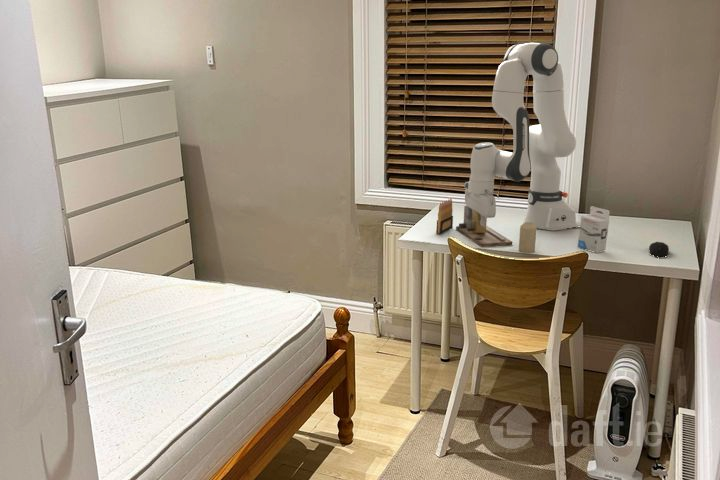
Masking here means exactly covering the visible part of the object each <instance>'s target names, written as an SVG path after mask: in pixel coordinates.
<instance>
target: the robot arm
mask: <svg viewBox="0 0 720 480" xmlns="http://www.w3.org/2000/svg"><path fill="white" fill-rule="evenodd" d="M502 61H503V62H502V63H501V64H500V65H498V68H497V71H496V74H495V78H494V83H493V89H492V97H491V106H492V108H493V111H495V113H496V114H497V115H498V116H499V117H501V118H502V119H504V120H506V122H507V123H509V124H510V125H511V128H512V131H513V146H512V147H513V149H512V150H513V152H510V151H506V150H502V149H499V148H497V147H496V146H495V144H494V143H492V142H488V141H487V142H485V141H484V142H479V143H477V144H474V146H473V148H472V151H471V155H470V177H469V181H465V182H464V190H465V191H464V203H465V206H467V207H469V208H471V209H472V213H473V210H474V211H476V212H478V213H479V214H481V220H480V221H479V225H481V226H485V221H486V219H488V218H489V219H490V218H491V219H493V218H495V217H496V213H497V211H496V210H497V202H496V198H495V196H494V194H493V193H494V185H495V177H498V178H504V179H507V180H511V181H513V182H518V183H519V182H521V181H523V180H524V179H526V178H527V177H528V175H529V174H530V173H531V174H530V187H529V189H528V196H527V198H528V199H527V203H528V205H527V208H526V214H525V216H524V220H523V223H522V224H524V223H525V222H528V223H529V222H531V223H534V225H535V226H536V227H537V229H538V230H539V229H540V230H547V231H560V230H562V231H563V230H568V229H567V228H569V229H573V228H572V227H576V228H579V227H578V226H580V223H581V221H578V220H577V217H576V211H575V209H574V208H573V207H572V206H571V205H569V204H568V203H567V202H566V201H565V200H564V199H563V198H567V197H568V192H567V191H562V190H560V187H561V185H560V184H561V176H562V175H561V174H562V173H561V169H560V166H559V165H558V162H557V158H566V157H569V156H571V154H573V152H575V149H576V147H577V146H576V145H577V140H576V137H575V135H574V134H573V132H572V130H571V129H570V126H569V124H568V121H567V117H566V113H565V97H564V95H565V94H564V92H565V90H564V86H565V85H564V74H563V70H562V65H561V64H560V62H559V54H558V51H557V49H556V47H554V45H552V44H549V43H545V42H544V43H539V42H529V43H517V44H514V45H512V46H510V47H508V49H507V50H506V52H505V54H504V57H503V60H502ZM529 75H532V79H533V83H532V85H533V87H532V89H533V90H532V93H533V96H532V97H533V104H532V105H533V113H534V114H535V116H536V118H537V119H538V122H539V124H534V125H530V118H529V117H530V116H529V115H530V114H529V112H528V110H527V109H526V107H525V102H524V96H525V95H524V93H525V84H526V79H527V77H528V76H529Z"/></svg>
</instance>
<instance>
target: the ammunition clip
mask: <svg viewBox="0 0 720 480" xmlns="http://www.w3.org/2000/svg"><path fill="white" fill-rule="evenodd" d="M453 223H454V216H453V198H450V199H447V200H444V201H442V202H439V205H438V214H437V220H436V232H435V233H437V234H438V235H442V234H444V233H446V232H448V231H450V230H452V229H453V225H454V224H453Z"/></svg>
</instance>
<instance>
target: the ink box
mask: <svg viewBox="0 0 720 480" xmlns="http://www.w3.org/2000/svg"><path fill="white" fill-rule="evenodd" d="M589 209H590V210H589V214H584V215H581V216H580V227H579V233H578V243H577V248H578V247H580V248H579V249H582V248H583V249H582V250H585V249H587V250H586V251H588V250H591V251H594V252H597V253H596V254H599V253H598V252H600V251H604V250H605V251H606V247H607V239H608V232H609V224H610V209H609V210H608V209H605V208H600V207H596V206H593V205H591V206H590V208H589ZM591 251H590V252H591ZM605 251H604V252H605ZM594 252H593V253H594ZM600 253H601V252H600Z"/></svg>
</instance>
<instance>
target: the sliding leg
mask: <svg viewBox="0 0 720 480" xmlns="http://www.w3.org/2000/svg"><path fill="white" fill-rule="evenodd" d="M487 219H488V218H487ZM487 219H486V221H485V226H481V225H479V221H480V220H481V214H479V213H478V212H476V211H474V210H473V215H472V228H467V231H473V232H474V233H486V226H487V222H488V221H487Z"/></svg>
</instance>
